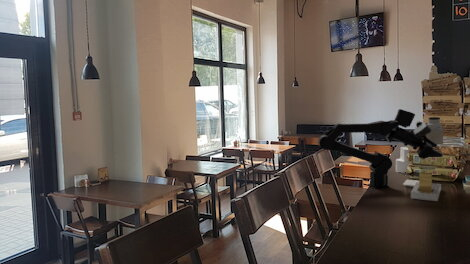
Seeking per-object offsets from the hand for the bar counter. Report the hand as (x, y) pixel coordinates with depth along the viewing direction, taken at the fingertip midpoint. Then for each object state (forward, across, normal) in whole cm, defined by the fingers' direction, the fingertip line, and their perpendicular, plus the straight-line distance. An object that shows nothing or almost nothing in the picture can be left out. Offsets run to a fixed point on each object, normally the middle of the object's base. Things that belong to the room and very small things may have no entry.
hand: (439, 150), depth 157 cm
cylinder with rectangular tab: (+3, +23, +25) cm, 34 cm away
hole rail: (-3, -18, +13) cm, 22 cm away
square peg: (-4, -21, +12) cm, 25 cm away
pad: (-1, -3, +17) cm, 17 cm away
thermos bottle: (+13, +18, +18) cm, 29 cm away
